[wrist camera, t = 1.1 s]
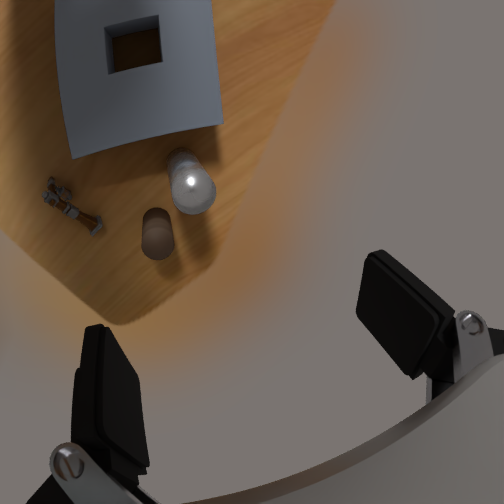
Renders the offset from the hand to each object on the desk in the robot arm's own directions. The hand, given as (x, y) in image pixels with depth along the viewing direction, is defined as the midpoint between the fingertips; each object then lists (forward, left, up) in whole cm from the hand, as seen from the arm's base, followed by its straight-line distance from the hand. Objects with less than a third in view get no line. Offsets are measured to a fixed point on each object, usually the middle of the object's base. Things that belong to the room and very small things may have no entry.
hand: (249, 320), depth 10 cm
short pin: (+6, -4, -24) cm, 25 cm away
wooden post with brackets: (+1, -13, -24) cm, 28 cm away
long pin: (0, 0, -24) cm, 24 cm away
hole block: (-13, -3, -24) cm, 27 cm away
